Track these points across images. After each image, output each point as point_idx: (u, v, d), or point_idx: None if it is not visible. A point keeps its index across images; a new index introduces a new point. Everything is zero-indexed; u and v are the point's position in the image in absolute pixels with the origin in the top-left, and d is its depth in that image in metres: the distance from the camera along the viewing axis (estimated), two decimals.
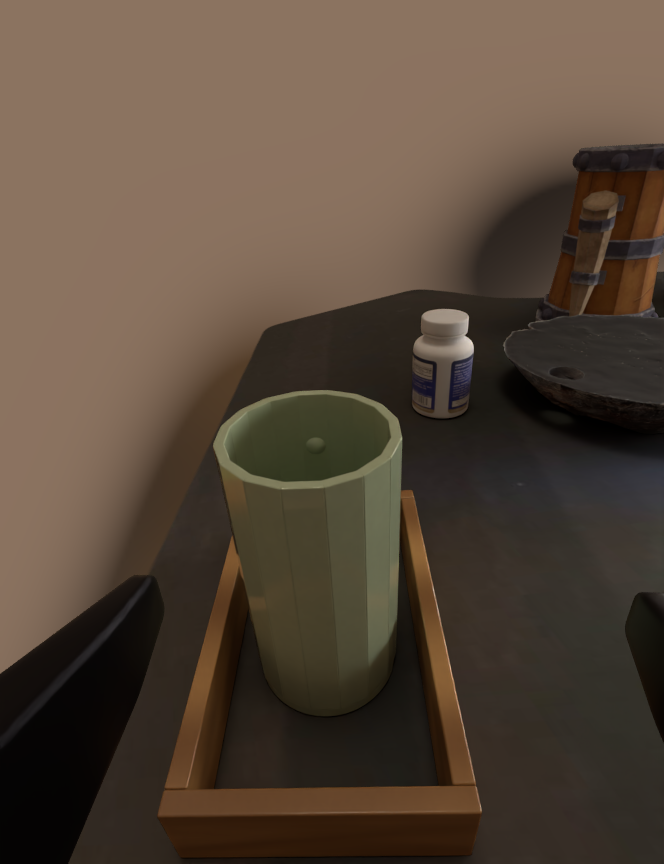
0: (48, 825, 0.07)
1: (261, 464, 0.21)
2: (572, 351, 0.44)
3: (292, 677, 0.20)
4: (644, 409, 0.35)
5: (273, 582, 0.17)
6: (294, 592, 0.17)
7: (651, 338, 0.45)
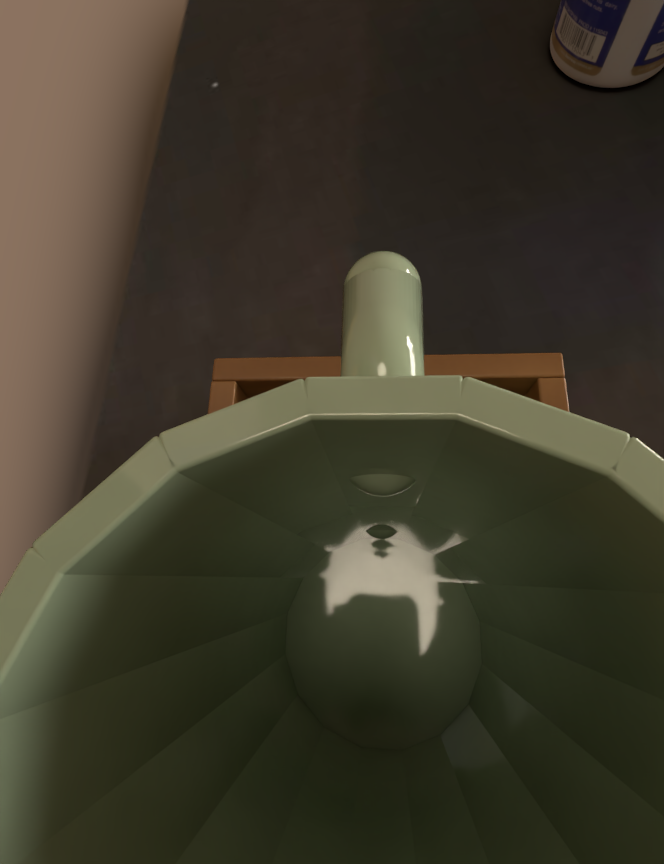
0: None
1: (207, 562, 0.06)
2: None
3: None
4: None
5: None
6: None
7: None
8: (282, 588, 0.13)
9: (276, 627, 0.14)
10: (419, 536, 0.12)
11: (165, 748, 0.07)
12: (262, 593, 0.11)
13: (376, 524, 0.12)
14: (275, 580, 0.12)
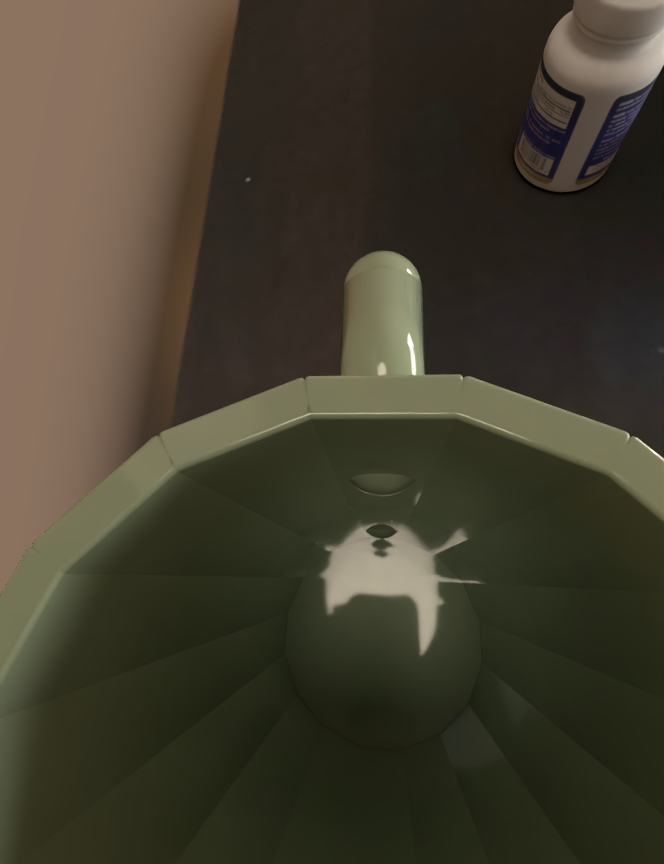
0: None
1: (207, 562, 0.06)
2: None
3: None
4: None
5: None
6: None
7: None
8: (282, 588, 0.13)
9: (276, 627, 0.14)
10: (419, 536, 0.12)
11: (165, 747, 0.07)
12: (262, 593, 0.11)
13: (376, 524, 0.12)
14: (275, 580, 0.12)
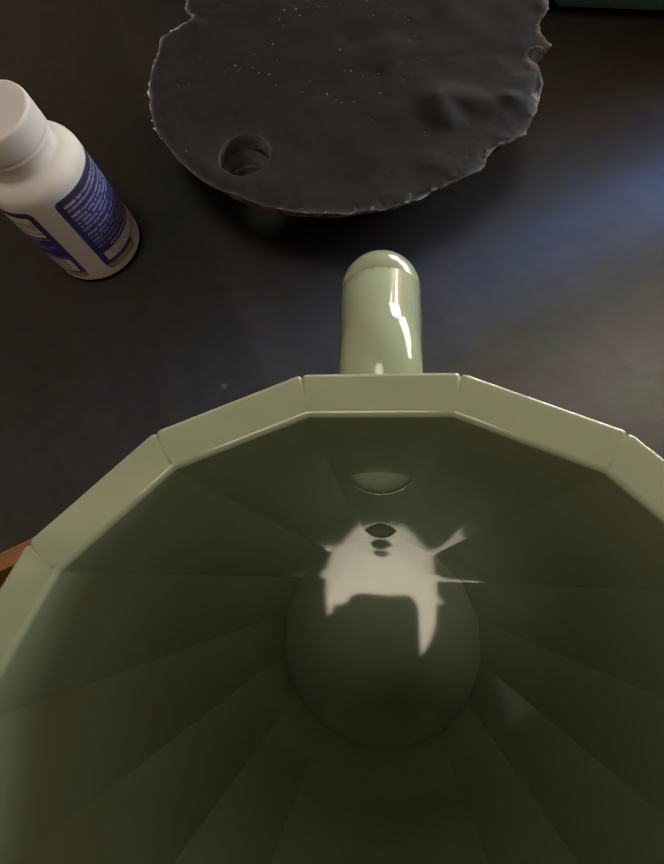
0: None
1: (206, 561, 0.06)
2: (254, 78, 0.26)
3: None
4: (354, 215, 0.23)
5: None
6: None
7: None
8: (281, 587, 0.13)
9: (275, 626, 0.14)
10: (418, 535, 0.12)
11: (164, 746, 0.07)
12: (261, 592, 0.11)
13: (375, 523, 0.12)
14: (274, 579, 0.12)
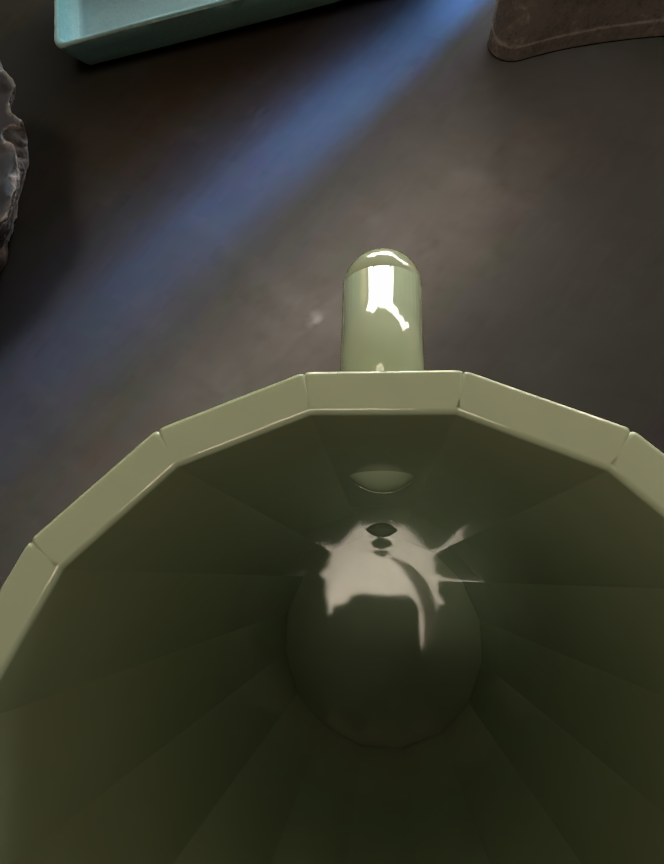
0: None
1: (207, 559, 0.06)
2: None
3: None
4: None
5: None
6: None
7: None
8: (282, 586, 0.13)
9: (276, 626, 0.14)
10: (419, 534, 0.12)
11: (165, 745, 0.07)
12: (262, 591, 0.11)
13: (376, 522, 0.12)
14: (275, 578, 0.12)
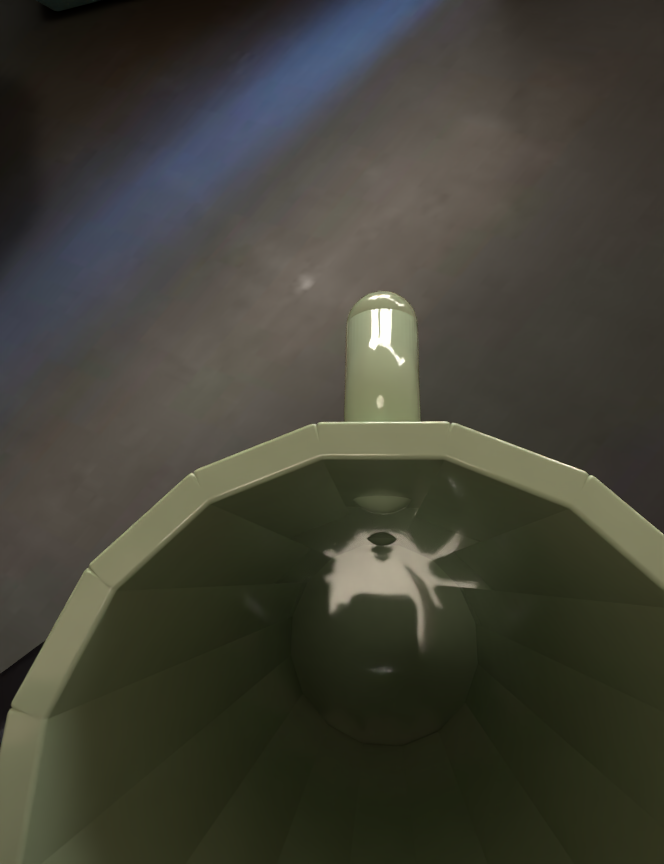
0: None
1: (226, 574, 0.07)
2: None
3: None
4: None
5: None
6: None
7: None
8: (288, 593, 0.14)
9: (282, 630, 0.14)
10: (417, 543, 0.13)
11: (188, 741, 0.07)
12: (270, 598, 0.11)
13: (377, 533, 0.12)
14: (282, 586, 0.12)
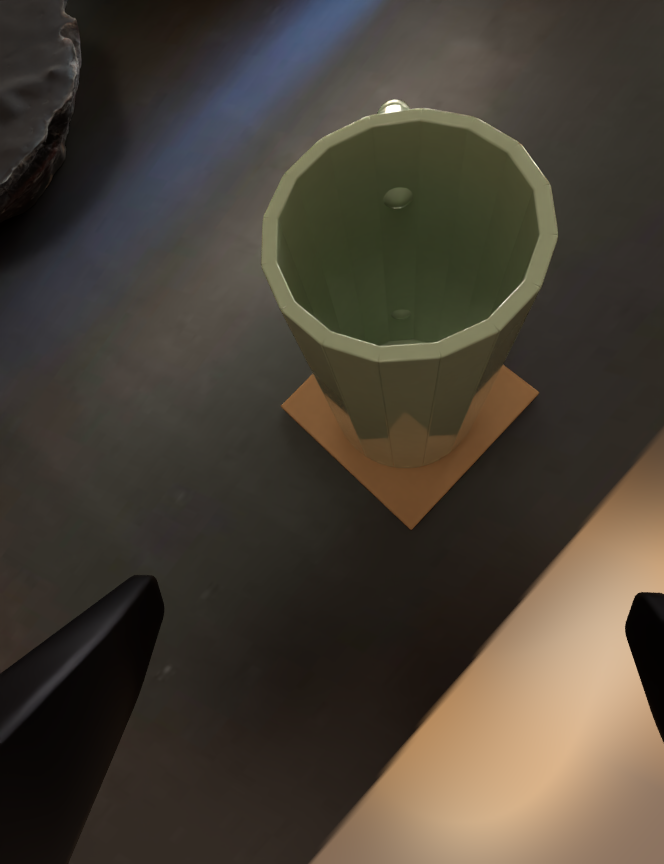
0: (48, 825, 0.07)
1: (322, 241, 0.15)
2: None
3: (376, 452, 0.20)
4: None
5: (361, 411, 0.15)
6: (387, 421, 0.15)
7: None
8: None
9: None
10: (424, 308, 0.20)
11: None
12: (334, 328, 0.19)
13: (397, 293, 0.20)
14: (339, 330, 0.20)
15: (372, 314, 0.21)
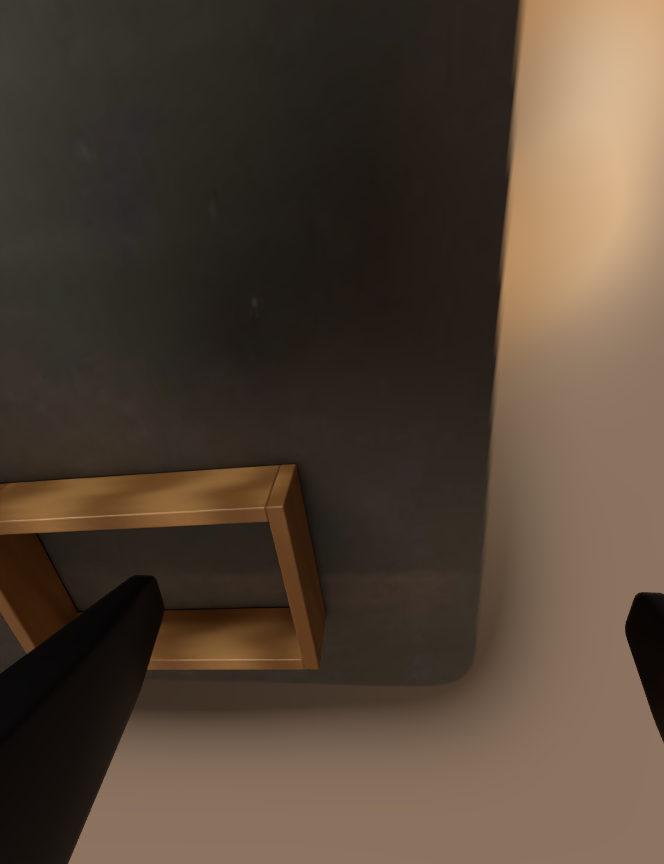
0: (48, 825, 0.07)
1: None
2: None
3: None
4: None
5: None
6: None
7: None
8: None
9: None
10: None
11: None
12: None
13: None
14: None
15: None
